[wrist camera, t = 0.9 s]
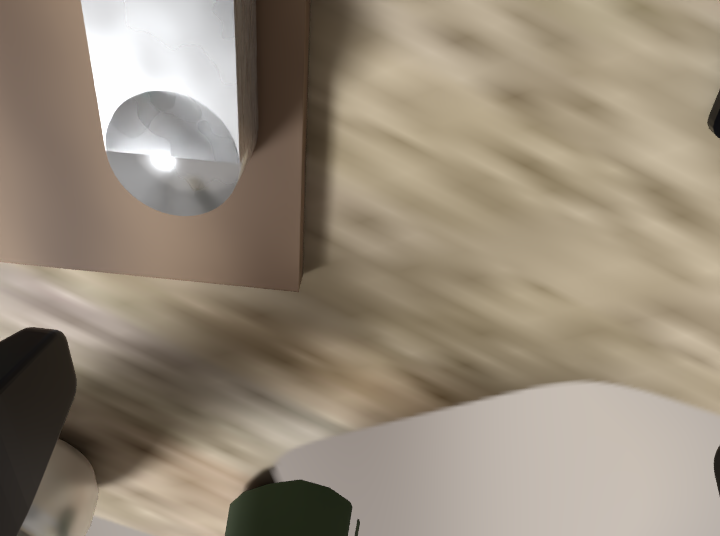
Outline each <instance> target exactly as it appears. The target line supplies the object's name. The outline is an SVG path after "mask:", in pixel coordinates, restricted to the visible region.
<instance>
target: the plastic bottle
mask: <svg viewBox="0 0 720 536" xmlns="http://www.w3.org/2000/svg"><path fill="white" fill-rule="evenodd" d="M98 492H99V491H98V486H97V482H96V478H95V474H94V470H93V468H92V466H91V464H90V462H89V461H88V460H87V459H86V457H85V456H84V455H83V454H82V453H80V452H79V451H78V450H77V449H76V448H74V447H73V446H71V445H70V444H68V443H66V442H64V441H62V440H60V439H58V440H57V443H56V445H55V448H54V450H53V453H52V455H51V458H50V460H49V463H48V465H47V468H46V471H45V473H44V476H43V478H42V481H41V483H40V486H39V488H38V491H37V493H36V496H35V498H34V500H33V503H32V505H31V507H30V510H29V512H28V514H27V516H26V518H25V520H24V522H23V524H22V526H21V528H20V530H19V532H18V534H17V536H85V535H86V533H87V532H88V530H89V528H90V526H91V522H92V519H93V515H94V511H95V507H96V503H97V500H98Z"/></svg>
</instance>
